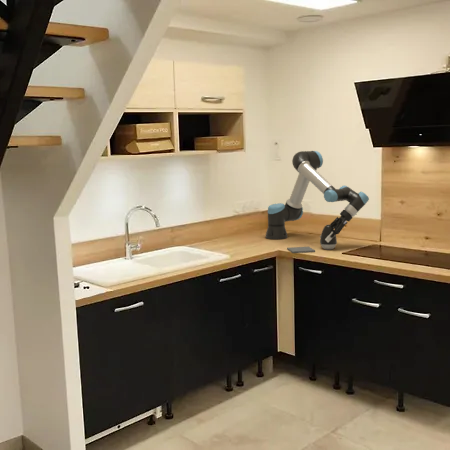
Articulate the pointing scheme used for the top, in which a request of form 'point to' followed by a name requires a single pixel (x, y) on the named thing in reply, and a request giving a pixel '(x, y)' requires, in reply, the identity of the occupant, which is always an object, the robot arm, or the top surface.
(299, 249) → the charcoal mat
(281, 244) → the top surface
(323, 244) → the pump dispenser
